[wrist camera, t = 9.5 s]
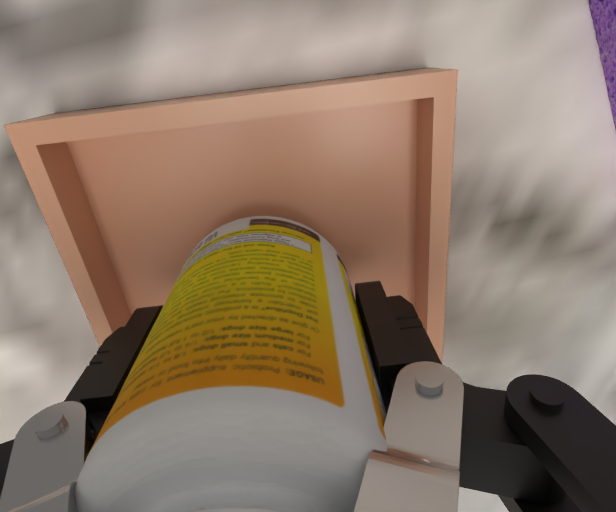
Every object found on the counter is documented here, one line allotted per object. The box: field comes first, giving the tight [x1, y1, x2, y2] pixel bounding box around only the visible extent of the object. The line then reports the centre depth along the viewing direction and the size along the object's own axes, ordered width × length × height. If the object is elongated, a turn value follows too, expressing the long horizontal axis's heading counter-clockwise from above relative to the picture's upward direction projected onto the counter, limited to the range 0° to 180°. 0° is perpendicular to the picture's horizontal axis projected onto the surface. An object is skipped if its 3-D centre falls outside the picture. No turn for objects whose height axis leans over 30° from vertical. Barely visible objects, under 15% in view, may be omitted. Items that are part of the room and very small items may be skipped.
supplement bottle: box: [75, 216, 387, 512], centre depth 9 cm, size 6×6×10 cm
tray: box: [4, 68, 458, 363], centre depth 14 cm, size 12×12×2 cm
